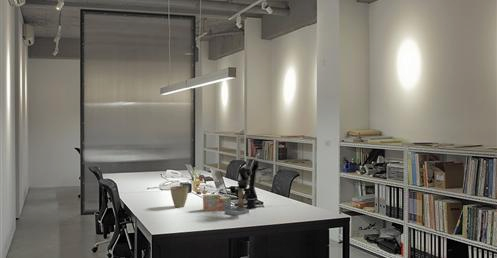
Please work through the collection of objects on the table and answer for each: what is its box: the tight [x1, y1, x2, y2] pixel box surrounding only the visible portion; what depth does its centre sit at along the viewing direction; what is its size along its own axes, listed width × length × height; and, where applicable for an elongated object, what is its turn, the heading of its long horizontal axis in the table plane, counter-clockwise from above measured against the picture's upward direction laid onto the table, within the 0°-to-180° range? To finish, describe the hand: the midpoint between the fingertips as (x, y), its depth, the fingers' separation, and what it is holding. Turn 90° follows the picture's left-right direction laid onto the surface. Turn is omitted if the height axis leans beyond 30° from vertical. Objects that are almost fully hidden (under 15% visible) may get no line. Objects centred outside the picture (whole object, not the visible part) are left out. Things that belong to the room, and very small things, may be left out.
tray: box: [224, 207, 250, 217], centre depth 367 cm, size 14×12×2 cm
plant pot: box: [170, 185, 189, 208], centre depth 395 cm, size 15×15×16 cm
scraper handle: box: [236, 189, 246, 209], centre depth 359 cm, size 6×6×14 cm
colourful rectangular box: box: [202, 193, 232, 212], centre depth 382 cm, size 21×6×12 cm, turn 102°
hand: (240, 199), depth 357 cm, fingers closed on scraper handle, 4 cm apart
